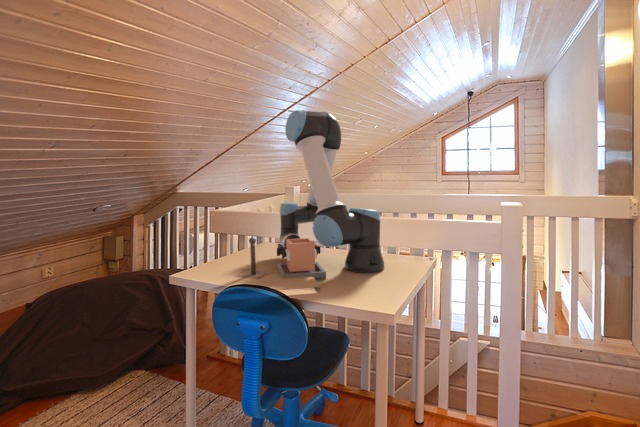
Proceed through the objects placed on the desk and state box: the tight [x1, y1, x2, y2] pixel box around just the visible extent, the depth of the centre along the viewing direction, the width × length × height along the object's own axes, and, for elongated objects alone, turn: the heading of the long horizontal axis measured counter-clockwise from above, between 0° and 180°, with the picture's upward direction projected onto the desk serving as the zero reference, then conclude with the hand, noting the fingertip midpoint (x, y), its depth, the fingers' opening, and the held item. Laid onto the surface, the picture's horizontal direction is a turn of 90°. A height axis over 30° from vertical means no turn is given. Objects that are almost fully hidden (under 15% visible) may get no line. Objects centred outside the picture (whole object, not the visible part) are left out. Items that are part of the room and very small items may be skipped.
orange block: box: [285, 237, 316, 273], centre depth 144 cm, size 9×9×10 cm
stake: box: [233, 237, 273, 280], centre depth 141 cm, size 10×10×15 cm
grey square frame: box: [276, 261, 327, 281], centre depth 145 cm, size 15×15×2 cm
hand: (302, 255), depth 140 cm, fingers closed on orange block, 9 cm apart
